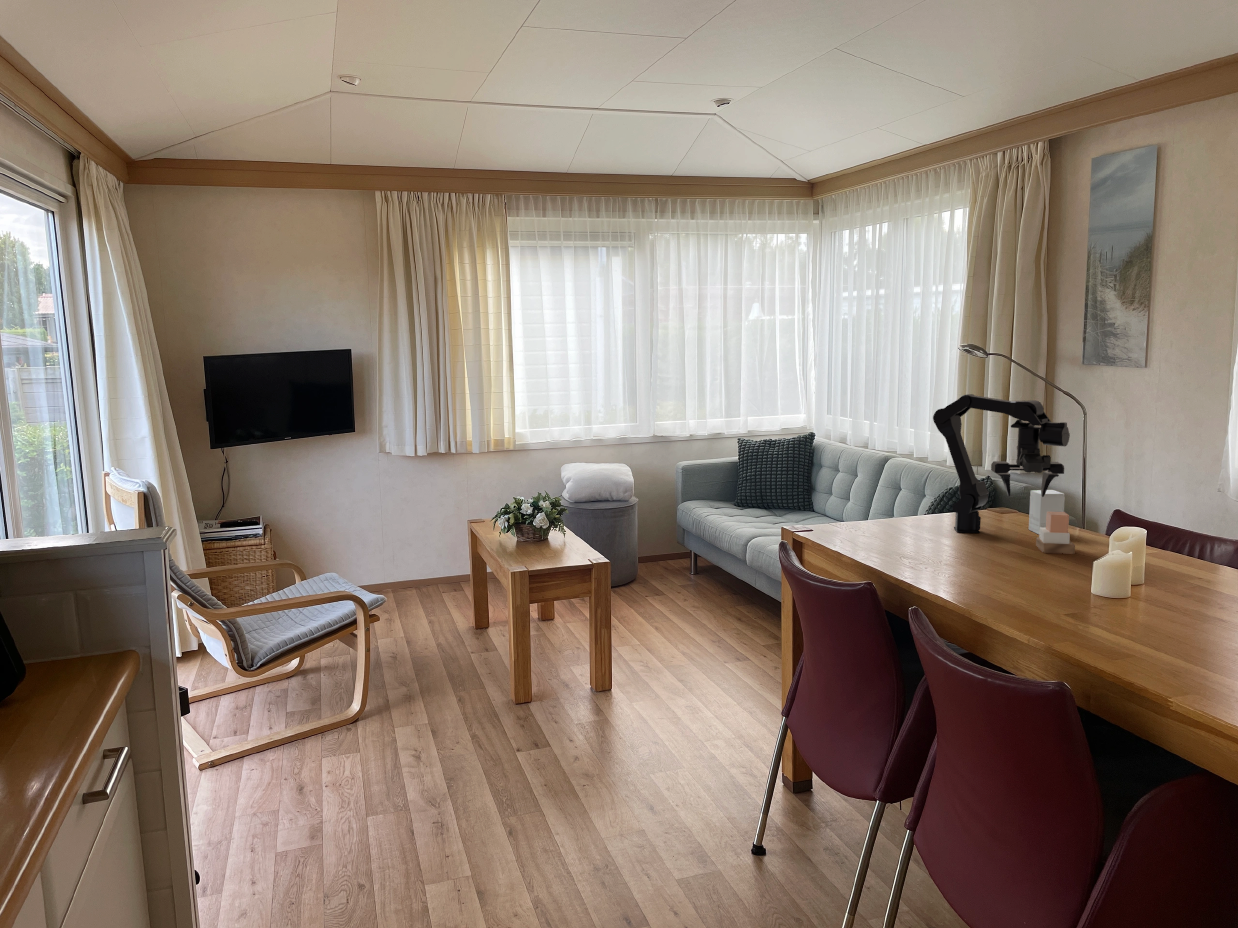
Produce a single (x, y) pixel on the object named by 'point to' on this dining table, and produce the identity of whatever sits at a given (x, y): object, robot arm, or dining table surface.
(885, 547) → the dining table surface
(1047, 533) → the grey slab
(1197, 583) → the dining table surface
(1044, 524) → the supplement box
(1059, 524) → the terracotta block
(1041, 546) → the walnut slab
